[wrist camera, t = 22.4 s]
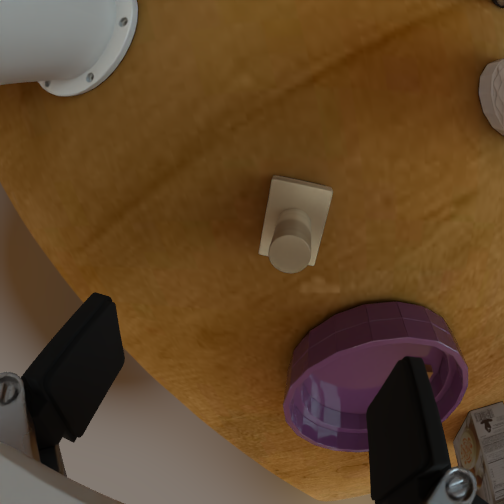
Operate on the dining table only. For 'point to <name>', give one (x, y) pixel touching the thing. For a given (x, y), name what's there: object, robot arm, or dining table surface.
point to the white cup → (493, 94)
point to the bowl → (366, 370)
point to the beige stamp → (294, 222)
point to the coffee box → (484, 450)
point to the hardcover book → (499, 3)
